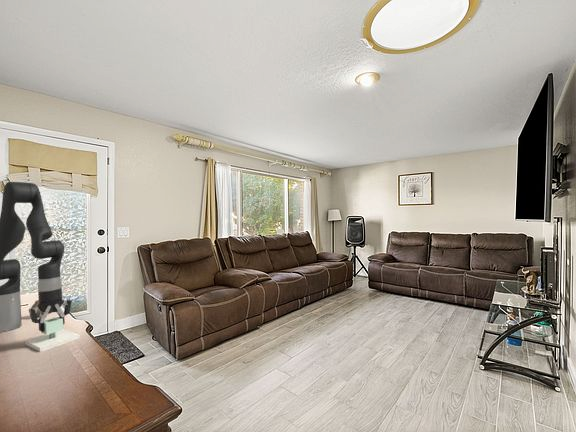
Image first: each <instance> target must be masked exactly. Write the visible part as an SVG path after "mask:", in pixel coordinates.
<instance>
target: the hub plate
mask: <svg viewBox="0 0 576 432" xmlns="http://www.w3.org/2000/svg"><path fill="white" fill-rule="evenodd" d="M79 339H80V334H79V333H76V332H72V331H70V330H68V329H65V328H63V330H61V331H57V332H54V333H51V334H48V335H46V334H42V335H38V336H34V337H32V338H28V339H25V340H24V344H25V345H26V346H28V347H30V348H32V349H34V350H36V351H38V352H40V353H42V352H44V351H47V350H49V349H52V348H56V347H58V346H61V345H65V344H68V343H70V342H73V341H77V340H79Z"/></svg>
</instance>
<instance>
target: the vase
mask: <svg viewBox="0 0 576 432" xmlns="http://www.w3.org/2000/svg"><path fill="white" fill-rule="evenodd" d="M38 304H39V299H38V300H35V302H34V304H32V306H30V308H35V307H37V306H38ZM40 314H41V311H40V310H39V309H38V310H37V313H36V316H37V319H39V317H40Z"/></svg>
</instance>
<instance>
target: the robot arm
mask: <svg viewBox="0 0 576 432" xmlns="http://www.w3.org/2000/svg"><path fill="white" fill-rule="evenodd" d="M16 204H31V210H30V213H29V215H28V216H27V218H26V222H25V223H24V222H23V220H22V219H21V218H20V216H19V215H18V214H17V212H16V209H15V206H16ZM26 229H27V231H28V234H29V236H30V243H31V245H30V246H31V247H30V253H31V254H30V255H31V256H32V257H34V259H39V260H42V259H50V260H49V261H48V262H46V263H43V264H41V265H39V266H38V267H37V277H38V281H37V293H38V300H39V304H38V306H37V307H35V308H31V307H30V308H28V313H29V315H30V319H31V323H33V324H38V330H39V331H40V333H41V332H45V325H44V321H45V320H46V318H47V317H48V315H49V314H52V313H57V315H58V316H59V317H58V318H61V319H63V325H65V324H66V323H65V320H66V319H65V317H66V316H68V315H70V312H71V306H72V300H70V299H65V300H64V299H63V283H62V279H61V264H62V260H63V257H64V253H65V245H64V243H63V242H62V241H60V240H57V239H55V240H49V239H51V238H52V236H53V231H52V228H51V226H50V224H49V221H48V220H47V217H46V213H45V208H44V202H43V199H42V195H41V191H40V188H39V187H38V185H37V184H35V183H33V182H22V181H21V182H19V181H8V182H6V184H5V185H4V187H3V192H2V203H1V211H0V281H3V280H7V281H6V282H5V283H4V284H1V285H0V333H2V332H8V331H12V330H16V329H18V328H20V327H22V303H21V263H20V261H19V260H18V259H16V258H13V259H12V258H11V259H5V258H6V257H7V256H8V254H10V253H11V252H12V251H13V250H14V249H15V248H17V247H18V246H19V245H20V244H21V243H22V242H23V240H24V237H25V232H26ZM63 305H64V310H63V309H62V308H61V307H62V306H63ZM38 309H39V310H40V311H41V314H40V317H39V318H37V316H36V313H37V310H38Z"/></svg>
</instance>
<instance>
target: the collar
mask: <svg viewBox="0 0 576 432" xmlns="http://www.w3.org/2000/svg"><path fill="white" fill-rule="evenodd" d="M44 325H45V332H41V331H40V333H42V335H44V334H46V335H48V334H51V333H54V332H57V331H61V330H63V329H64V324H63V319H61V318H59V317H58V316H57V317H53V318H49V319H45V320H44Z"/></svg>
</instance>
